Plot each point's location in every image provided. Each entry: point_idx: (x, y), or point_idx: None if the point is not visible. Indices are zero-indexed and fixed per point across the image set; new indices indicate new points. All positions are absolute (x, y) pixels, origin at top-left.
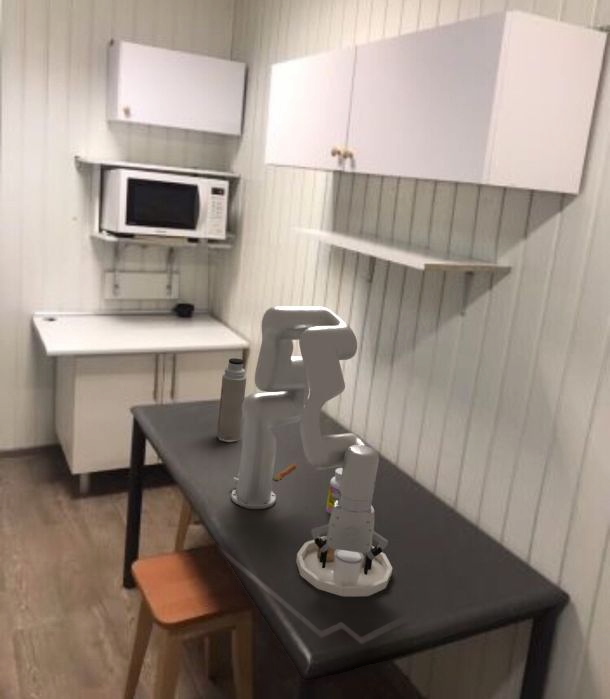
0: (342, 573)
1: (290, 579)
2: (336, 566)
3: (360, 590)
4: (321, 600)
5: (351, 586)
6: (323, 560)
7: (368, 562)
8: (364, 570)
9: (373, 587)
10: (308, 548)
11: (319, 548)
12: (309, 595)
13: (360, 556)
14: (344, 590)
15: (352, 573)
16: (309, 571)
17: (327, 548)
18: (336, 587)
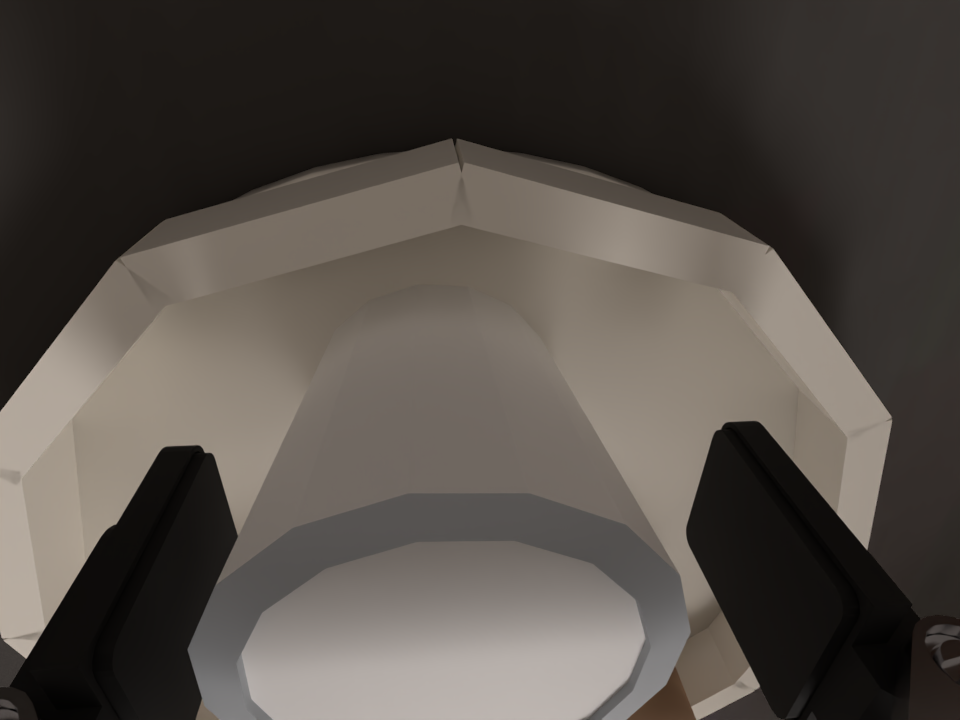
0: (504, 374)
1: (894, 331)
2: (604, 455)
3: (236, 216)
4: (673, 70)
5: (359, 238)
6: (815, 496)
7: (73, 613)
8: (200, 492)
9: (81, 308)
10: (714, 650)
11: (675, 669)
12: (785, 132)
13: (262, 694)
14: (444, 157)
15: (362, 392)
16: (827, 386)
17: (932, 715)
18: (552, 183)
